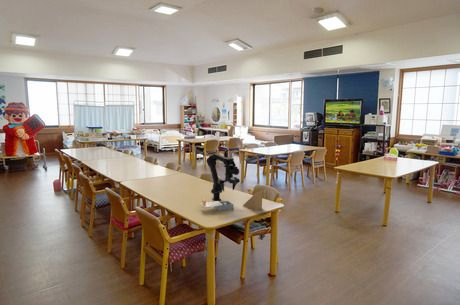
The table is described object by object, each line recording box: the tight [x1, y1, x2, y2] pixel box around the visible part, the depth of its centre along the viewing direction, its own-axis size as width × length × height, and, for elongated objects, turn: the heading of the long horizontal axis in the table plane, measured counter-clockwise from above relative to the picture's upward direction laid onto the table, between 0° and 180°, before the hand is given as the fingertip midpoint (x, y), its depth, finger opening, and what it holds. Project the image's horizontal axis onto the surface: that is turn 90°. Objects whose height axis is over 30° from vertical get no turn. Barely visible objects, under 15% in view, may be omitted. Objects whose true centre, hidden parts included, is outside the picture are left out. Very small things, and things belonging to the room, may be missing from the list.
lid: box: [200, 199, 223, 208], centre depth 247 cm, size 11×15×5 cm
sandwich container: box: [242, 190, 263, 211], centre depth 256 cm, size 9×15×15 cm, turn 44°
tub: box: [213, 200, 234, 212], centre depth 252 cm, size 10×13×4 cm
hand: (228, 190), depth 261 cm, fingers open, 9 cm apart
